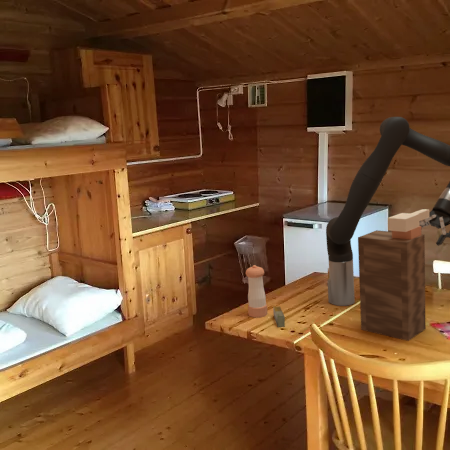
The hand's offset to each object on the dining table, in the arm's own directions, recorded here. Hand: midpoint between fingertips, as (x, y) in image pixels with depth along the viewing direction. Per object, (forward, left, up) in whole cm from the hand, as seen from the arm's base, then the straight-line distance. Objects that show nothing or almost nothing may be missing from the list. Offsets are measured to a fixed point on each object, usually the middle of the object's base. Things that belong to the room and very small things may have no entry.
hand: (426, 240), depth 197 cm
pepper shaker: (-54, -32, -25) cm, 67 cm away
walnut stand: (-4, -26, -25) cm, 37 cm away
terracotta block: (+1, -26, +7) cm, 27 cm away
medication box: (-43, -35, -25) cm, 61 cm away
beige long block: (+2, -22, +10) cm, 24 cm away
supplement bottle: (-42, +12, -25) cm, 51 cm away
